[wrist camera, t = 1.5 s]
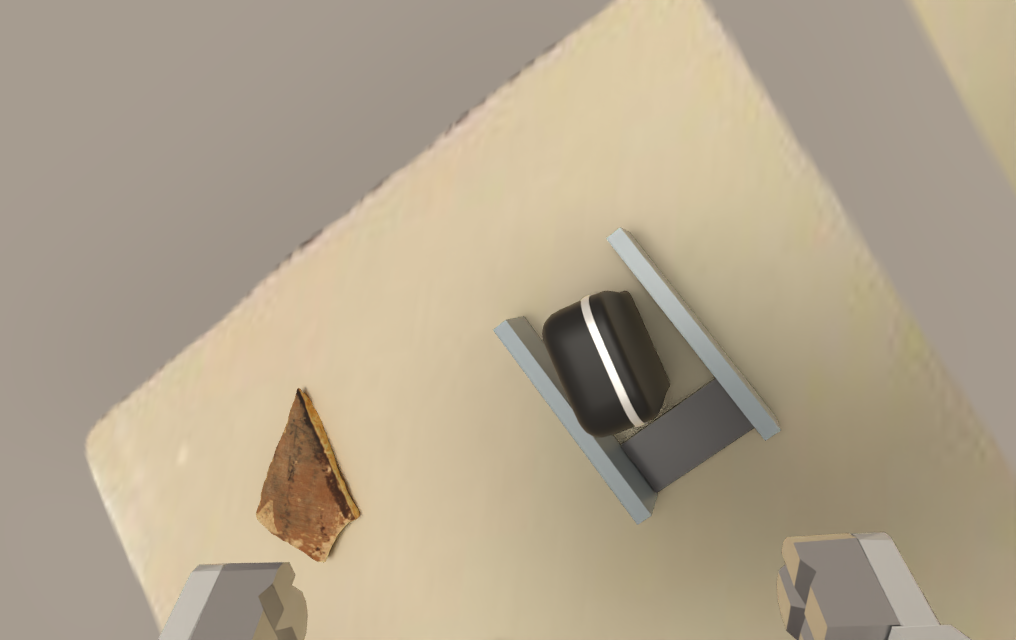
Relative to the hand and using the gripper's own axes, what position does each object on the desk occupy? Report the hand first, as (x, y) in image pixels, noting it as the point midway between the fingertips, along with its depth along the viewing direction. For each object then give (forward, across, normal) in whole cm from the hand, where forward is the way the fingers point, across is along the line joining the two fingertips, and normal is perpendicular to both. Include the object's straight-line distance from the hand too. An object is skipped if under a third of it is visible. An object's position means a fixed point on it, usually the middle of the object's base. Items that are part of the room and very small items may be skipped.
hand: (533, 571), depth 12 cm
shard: (+29, +19, +26) cm, 44 cm away
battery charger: (+28, -5, +16) cm, 33 cm away
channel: (+28, -5, +17) cm, 33 cm away
